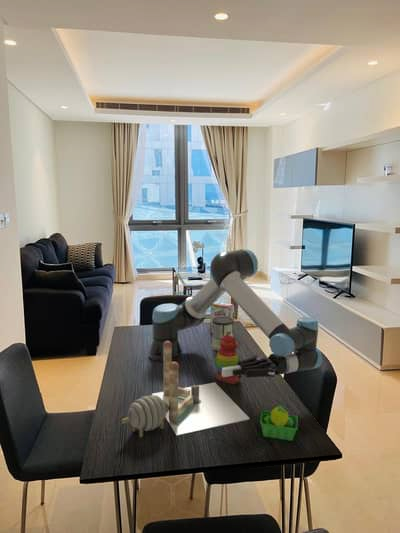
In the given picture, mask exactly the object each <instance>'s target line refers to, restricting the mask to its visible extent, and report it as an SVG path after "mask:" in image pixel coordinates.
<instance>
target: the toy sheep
mask: <svg viewBox="0 0 400 533" xmlns="http://www.w3.org/2000/svg"><path fill="white" fill-rule="evenodd" d="M168 410H169V405H168V403H167V402H166V401H164V400H162V399H161V398H160V397H159V396H157V395H154V396H152V394H150V395H147V396H146V395H143V396H141V397H140V398H137V399H135V401H134V402H132V403H131V404H130V406H129V409H128V411H127V416H126V417H125V418H122V419H121V424H122V425H124V424H127V423H129V424H130V425H131V426H132V432H136V431H137V430H138V434H139V435H138V436H139V438H143V437H144V432H149V431H153V430H155V429H156V428H157V427H159V428H160V429H161V430H163V429H164V426H165V423H164V422H165V421H164V419H166V417H165V416H166V413H167V412H168Z"/></svg>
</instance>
